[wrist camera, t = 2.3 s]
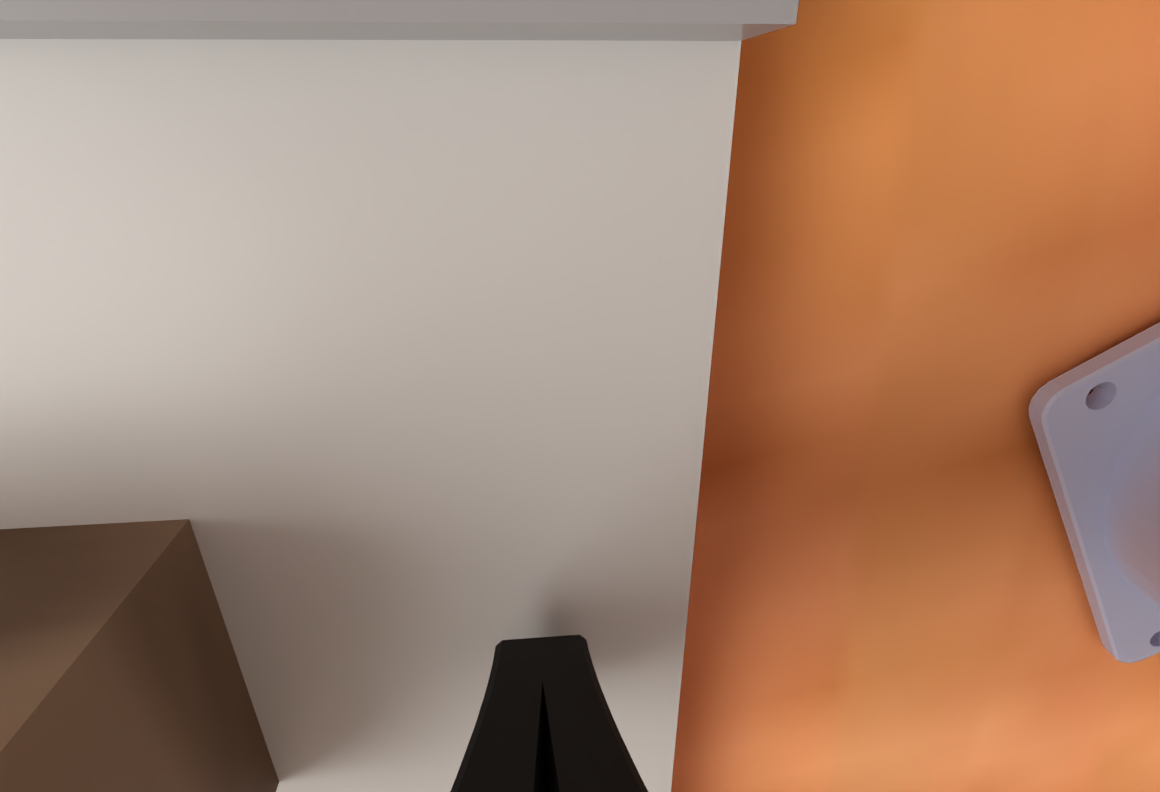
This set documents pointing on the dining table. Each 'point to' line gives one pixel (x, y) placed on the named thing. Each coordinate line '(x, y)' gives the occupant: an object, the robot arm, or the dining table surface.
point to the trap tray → (378, 336)
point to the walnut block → (120, 666)
